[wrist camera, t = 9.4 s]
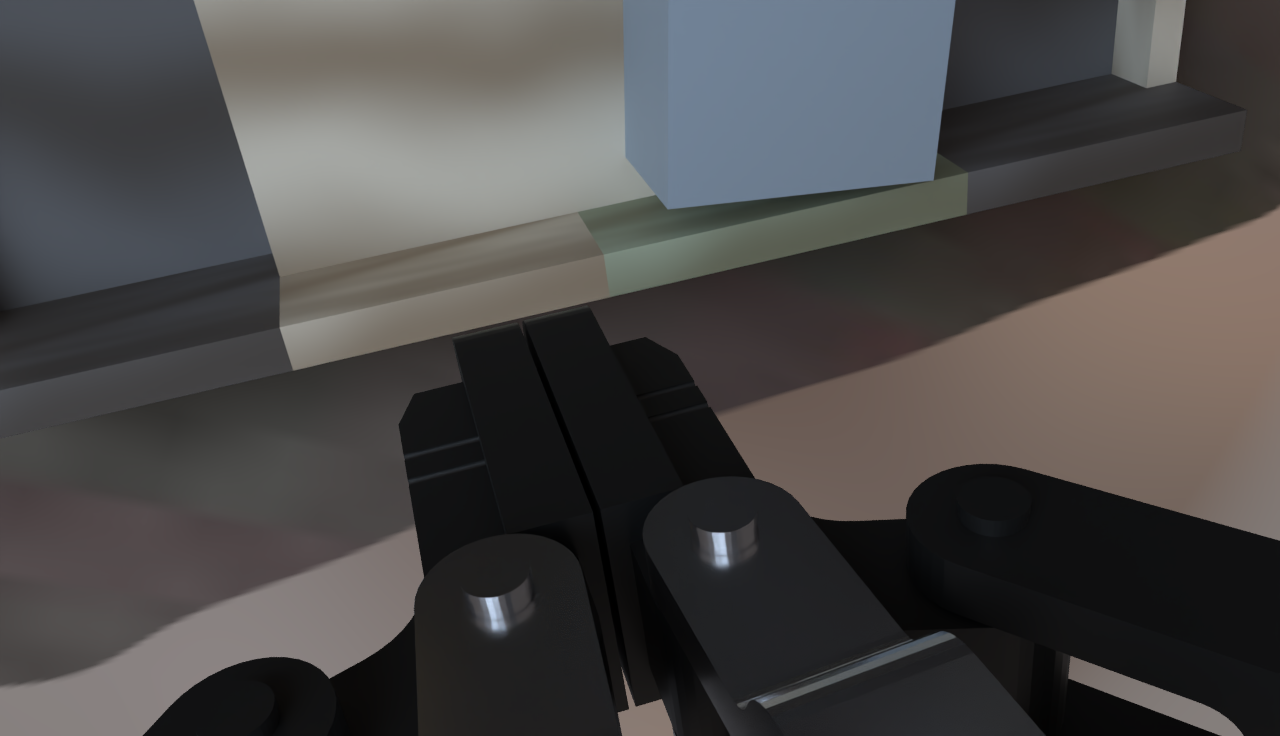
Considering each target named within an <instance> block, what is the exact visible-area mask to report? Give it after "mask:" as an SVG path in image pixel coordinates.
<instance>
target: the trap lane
mask: <svg viewBox="0 0 1280 736" xmlns="http://www.w3.org/2000/svg"><path fill="white" fill-rule="evenodd" d="M1185 5H1186V0H956V1H955V9H954V17H953V25H952V34H951V42H950V50H949V58H948V66H947V75H946V83H945V91H944V99H943V107H942V115H941V124H940V132H939V140H938V148H937V156H936V165H935V173H934V180H933V181H924V182H915V183H906V184H896V185H887V186H878V187H869V188H860V189H851V190H842V191H832V192H823V193H814V194H805V195H796V196H787V197H777V198H768V199H759V200H750V201H741V202H732V203H723V204H713V205H704V206H695V207H686V208H677V209H667V208H666V207H665V206H664V204H663V203H662V202H661V201H660V199H659V198H658V197H657V196H656V194H655V193H654V192H653V191H652V189H651V188H650V187H649V186H648V184H647V183H646V182H645V181H644V179H643V178H642V177H641V176H640V174H639V173H638V172H637V171H636V169H635V168H634V167H633V166H632V164H631V163H630V162H629V161H628V160H627V158H626V157H625V100H624V36H623V0H0V438H4V437H9V436H13V435H17V434H21V433H26V432H30V431H34V430H39V429H43V428H47V427H52V426H56V425H60V424H65V423H69V422H73V421H78V420H82V419H86V418H91V417H95V416H99V415H103V414H108V413H112V412H116V411H121V410H125V409H129V408H134V407H138V406H142V405H147V404H151V403H155V402H160V401H164V400H168V399H173V398H177V397H181V396H185V395H190V394H194V393H198V392H203V391H207V390H211V389H216V388H220V387H224V386H229V385H233V384H237V383H242V382H246V381H250V380H255V379H259V378H263V377H267V376H272V375H276V374H280V373H285V372H289V371H293V370H298V369H302V368H306V367H311V366H315V365H319V364H324V363H328V362H332V361H337V360H341V359H345V358H349V357H354V356H358V355H362V354H367V353H371V352H375V351H380V350H384V349H388V348H393V347H397V346H401V345H406V344H410V343H414V342H419V341H423V340H427V339H431V338H436V337H440V336H444V335H449V334H453V333H457V332H462V331H466V330H470V329H475V328H479V327H483V326H488V325H492V324H496V323H501V322H505V321H509V320H513V319H518V318H522V317H526V316H531V315H535V314H539V313H544V312H548V311H552V310H557V309H561V308H565V307H570V306H574V305H578V304H583V303H587V302H591V301H595V300H600V299H604V298H608V297H613V296H617V295H621V294H626V293H630V292H634V291H639V290H643V289H647V288H652V287H656V286H660V285H665V284H669V283H673V282H677V281H682V280H686V279H690V278H695V277H699V276H703V275H708V274H712V273H716V272H721V271H725V270H729V269H734V268H738V267H742V266H746V265H751V264H755V263H759V262H764V261H768V260H772V259H777V258H781V257H785V256H790V255H794V254H798V253H803V252H807V251H811V250H816V249H820V248H824V247H828V246H833V245H837V244H841V243H846V242H850V241H854V240H859V239H863V238H867V237H872V236H876V235H880V234H885V233H889V232H893V231H898V230H902V229H906V228H910V227H915V226H919V225H923V224H928V223H932V222H936V221H941V220H945V219H949V218H954V217H958V216H962V215H967V214H971V213H975V212H980V211H984V210H988V209H992V208H997V207H1001V206H1005V205H1010V204H1014V203H1018V202H1023V201H1027V200H1031V199H1036V198H1040V197H1044V196H1049V195H1053V194H1057V193H1062V192H1066V191H1070V190H1074V189H1079V188H1083V187H1087V186H1092V185H1096V184H1100V183H1105V182H1109V181H1113V180H1118V179H1122V178H1126V177H1131V176H1135V175H1139V174H1144V173H1148V172H1152V171H1156V170H1161V169H1165V168H1169V167H1174V166H1178V165H1182V164H1187V163H1191V162H1195V161H1200V160H1204V159H1208V158H1213V157H1217V156H1221V155H1226V154H1230V153H1234V152H1238V151H1241V146H1242V140H1243V133H1244V127H1245V121H1246V114H1247V110H1246V109H1244V108H1241V107H1239V106H1236V105H1234V104H1231V103H1228V102H1226V101H1223V100H1221V99H1218V98H1216V97H1213V96H1211V95H1208V94H1206V93H1203V92H1201V91H1198V90H1195V89H1193V88H1190V87H1188V86H1185V85H1183V84H1180V83H1178V82H1176V77H1177V69H1178V61H1179V53H1180V45H1181V37H1182V29H1183V21H1184V13H1185Z"/></svg>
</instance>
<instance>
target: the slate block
mask: <svg viewBox="0 0 1280 736" xmlns="http://www.w3.org/2000/svg"><path fill="white" fill-rule="evenodd" d="M955 1H956V0H623V36H624V100H625V157H626V158H627V160H628V161H629V162H630V163H631V164H632V166H633V167H634V168H635V169H636V171H637V172H638V173H639V174H640V176H641V177H642V178H643V179H644V181H645V182H646V183H647V184H648V186H649V187H650V188H651V189H652V191H653V192H654V193H655V194H656V196H657V197H658V198H659V199H660V201H661V202H662V203H663V204H664V206H665V207H666V208H667V209H677V208H686V207H695V206H704V205H713V204H723V203H732V202H741V201H750V200H759V199H768V198H777V197H787V196H796V195H805V194H814V193H823V192H832V191H842V190H851V189H860V188H869V187H878V186H887V185H896V184H906V183H915V182H924V181H933V180H934V173H935V165H936V156H937V148H938V140H939V132H940V124H941V115H942V107H943V99H944V91H945V83H946V75H947V66H948V58H949V50H950V42H951V34H952V25H953V17H954V9H955Z"/></svg>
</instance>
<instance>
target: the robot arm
mask: <svg viewBox="0 0 1280 736" xmlns="http://www.w3.org/2000/svg"><path fill="white" fill-rule="evenodd" d="M523 332H524V336H523V333H522V331H521V328H520V326H519V324H518V323H512V324H508V325H504V326H500V327H496V328H491V329H487V330H483V331H479V332H475V333H470V334H466V335H462V336H458V337H454V338H452V340H453V345H454V350H455V354H456V358H457V362H458V366H459V371H460V375H461V379H462V382H461V383H457V384H453V385H449V386H445V387H441V388H437V389H433V390H428V391H424V392H420V393H416V394H414V395H413V397H412V399H411V401H410V403H409V405H408V407H407V409H406V411H405V413H404V415H403V417H402V419H401V421H400V423H399V430H400V436H401V442H402V448H403V454H404V458H405V466H406V472H407V478H408V482H409V489H410V495H411V501H412V507H413V513H414V519H415V525H416V531H417V537H418V543H419V549H420V555H421V561H422V567H423V573H424V579H423V581H422V582H421V584H420V586H419V588H418V591H417V593H416V596H415V604H414V616H413V618H412V619H411V620H410V622H409V623H408V624H407V626H406V627H405V628H404V629H403V630H402V631H401V632H400V633H399V634H398V635H397V636H396V637H395V638H394V639H393V640H392V641H391V642H390V643H388V644H387V645H386V646H384V647H383V648H382V649H380V650H379V651H378V652H376V653H375V654H373V655H371V656H369V657H368V658H366V659H365V660H363V661H361V662H360V663H357V664H356V665H354V666H352V667H350V668H348V669H346V670H345V671H343V672H341V673H339V674H337V675H335V676H334V677H332V678H330V679H329V678H328V677H327V676H326V675H325V674H324V673H323V672H322V671H321V670H320V669H319V668H317V667H315V666H314V665H312V664H310V663H308V662H305V661H302V660H299V659H293V658H287V657H269V658H261V659H255V660H250V661H246V662H242V663H239V664H236V665H233V666H231V667H228V668H225V669H223V670H221V671H219V672H217V673H215V674H213V675H211V676H209V677H207V678H206V679H204V680H202V681H201V682H199V683H198V684H196V685H194V686H193V687H192V688H190V689H189V690H188V691H187V692H185V693H184V694H183V695H182V696H180V698H178V699H177V700H176V701H175V702H174V703H173V704H172V705H171V706H170V707H169V708H168V709H167V710H166V711H165V712H164V713H163V715H162V716H161V717H160V718H159V719H158V720H157V721H156V722H155V723H154V724H153V725H152V726H151V727H150V728H149V730H148V731H147V732H146V733H145V734H144V735H143V736H622V733H621V728H620V723H619V718H618V712H621V711H625V710H628V709H629V707H628V701H627V696H626V691H625V685H624V679H623V674H622V670H623V673H624V675H625V678H626V681H627V684H628V686H629V689H630V692H631V695H632V698H633V700H634V703H635V706H639V705H643V704H646V703H649V702H653V701H656V700H659V699H662V700H663V703H664V705H665V708H666V710H667V713H668V716H669V718H670V721H671V723H672V727H673V734H674V736H1220V735H1217V734H1214V733H1212V732H1209V731H1206V730H1204V729H1201V728H1198V727H1195V726H1193V725H1190V724H1188V723H1185V722H1182V721H1180V720H1177V719H1174V718H1172V717H1169V716H1166V715H1164V714H1161V713H1158V712H1155V711H1153V710H1151V709H1148V708H1145V707H1143V706H1140V705H1137V704H1135V703H1132V702H1129V701H1126V700H1124V699H1121V698H1119V697H1116V696H1113V695H1111V694H1108V693H1105V692H1103V691H1100V690H1097V689H1095V688H1092V687H1089V686H1087V685H1084V684H1081V683H1079V682H1076V681H1073V680H1071V679H1068V674H1069V663H1070V656H1073V657H1076V658H1078V659H1081V660H1084V661H1087V662H1089V663H1092V664H1095V665H1098V666H1101V667H1103V668H1106V669H1108V670H1111V671H1114V672H1117V673H1119V674H1122V675H1125V676H1128V677H1130V678H1133V679H1136V680H1139V681H1141V682H1144V683H1147V684H1150V685H1153V686H1155V687H1158V688H1161V689H1163V690H1166V691H1169V692H1171V693H1174V694H1177V695H1180V696H1182V697H1185V698H1188V699H1191V700H1193V701H1196V702H1199V703H1202V704H1204V705H1206V706H1209V707H1211V708H1213V709H1215V710H1216V711H1218V712H1220V713H1221V714H1223V715H1224V716H1225V717H1227V718H1228V719H1229V720H1230V721H1232V722H1233V723H1234V724H1235V725H1236V726H1237V728H1238V729H1239V730H1240V731H1241V732H1242V734H1243V735H1244V736H1280V541H1278V540H1275V539H1272V538H1268V537H1264V536H1261V535H1257V534H1253V533H1250V532H1247V531H1243V530H1239V529H1236V528H1232V527H1229V526H1225V525H1222V524H1218V523H1215V522H1211V521H1207V520H1204V519H1200V518H1197V517H1193V516H1190V515H1186V514H1182V513H1179V512H1175V511H1172V510H1168V509H1164V508H1161V507H1157V506H1154V505H1150V504H1146V503H1143V502H1140V501H1136V500H1133V499H1129V498H1125V497H1122V496H1118V495H1115V494H1111V493H1108V492H1104V491H1101V490H1097V489H1093V488H1090V487H1086V486H1082V485H1079V484H1076V483H1072V482H1068V481H1064V480H1061V479H1058V478H1054V477H1050V476H1047V475H1043V474H1040V473H1036V472H1033V471H1029V470H1026V469H1021V468H1017V467H1012V466H1006V465H998V464H976V465H975V464H974V465H965V466H960V467H955V468H951V469H948V470H945V471H942V472H940V473H937V474H935V475H933V476H931V477H930V478H928V479H927V480H925V481H924V482H922V483H921V484H920V485H919V486H918V487H917V488H916V489H915V490H914V491H913V493H912V495H911V496H910V498H909V500H908V504H907V507H906V519H895V520H872V521H833V520H824V519H819V518H814V517H810V516H809V515H808V513H807V512H806V511H805V509H804V508H803V507H802V506H801V505H800V503H799V502H798V501H797V500H796V499H795V498H794V497H793V496H792V495H791V494H789V493H788V492H786V491H785V490H783V489H782V488H780V487H778V486H776V485H774V484H772V483H769V482H765V481H762V480H759V479H755V478H754V476H753V474H752V473H751V471H750V470H749V468H748V466H747V465H746V463H745V462H744V460H743V459H742V457H741V455H740V454H739V452H738V450H737V449H736V447H735V446H734V444H733V442H732V441H731V439H730V438H729V436H728V434H727V433H726V431H725V430H724V428H723V426H722V425H721V423H720V422H719V420H718V418H717V417H716V415H715V414H714V412H713V410H712V409H711V407H708V404H707V401H706V399H705V398H704V396H703V394H702V393H701V391H700V390H699V388H698V386H695V384H694V380H693V378H692V377H691V375H690V374H689V372H688V370H687V369H686V367H685V366H684V364H683V362H682V361H681V359H680V358H679V356H678V355H677V354H675V353H673V352H672V351H670V350H668V349H666V348H664V347H662V346H661V345H659V344H657V343H655V342H653V341H652V340H650V339H648V338H646V337H644V338H640V339H636V340H632V341H628V342H624V343H619V344H615V345H611V346H610V345H609V343H608V341H607V339H606V338H605V336H604V334H603V332H602V330H601V328H600V326H599V324H598V322H597V320H596V319H595V317H594V315H593V313H592V311H591V309H590V308H589V306H583V307H579V308H574V309H570V310H566V311H562V312H558V313H553V314H549V315H545V316H541V317H537V318H532V319H528V320H524V321H523ZM621 667H622V668H621Z"/></svg>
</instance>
